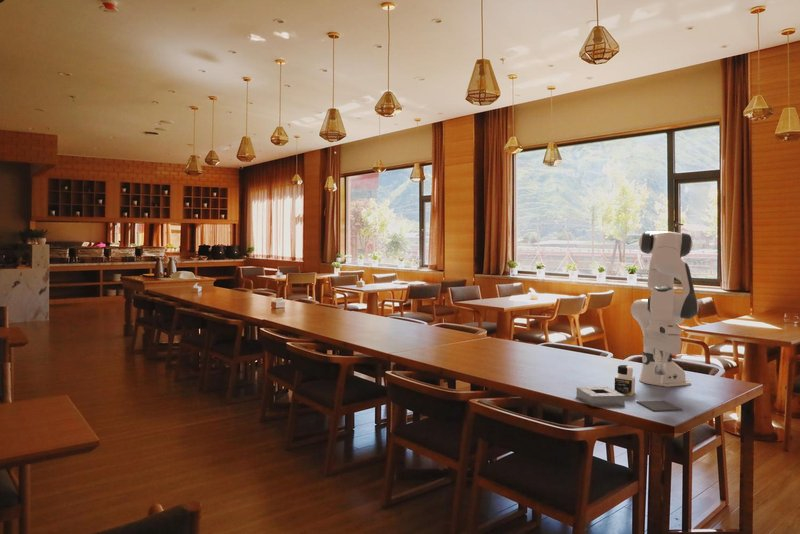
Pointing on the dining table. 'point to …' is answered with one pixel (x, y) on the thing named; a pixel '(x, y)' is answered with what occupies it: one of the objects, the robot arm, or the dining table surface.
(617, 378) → the medicine bottle
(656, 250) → the robot arm
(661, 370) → the steel peg
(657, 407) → the rubber mat
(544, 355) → the dining table surface
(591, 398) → the block
